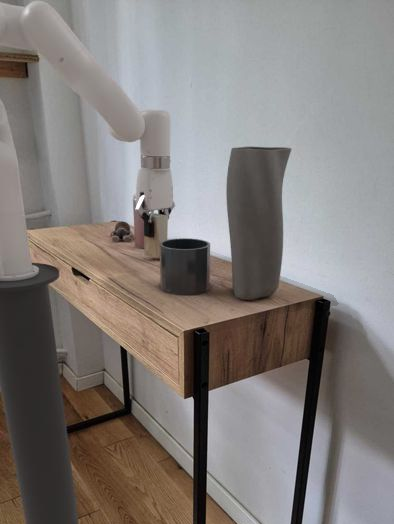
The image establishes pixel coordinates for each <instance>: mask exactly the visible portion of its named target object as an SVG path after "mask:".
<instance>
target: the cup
mask: <svg viewBox="0 0 394 524" xmlns="http://www.w3.org/2000/svg"><path fill="white" fill-rule="evenodd" d="M159 250H160V258H159V282H160V283H159V284H160V289H161V290H162V291H163V292H165V293H167V294H171V295H178V296H193V295H199V294H203V293H205V292H208V291H209V289H210V283H211V282H210V278H211V277H210V275H211V274H210V273H211V272H210V271H211V243H210V242H209V241H207V240H204V239H199V238H189V237H188V238H186V237H185V238H184V237H183V238H171V239H167V240H165V241H162V242H160V244H159Z"/></svg>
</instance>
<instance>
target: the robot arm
mask: <svg viewBox="0 0 394 524" xmlns="http://www.w3.org/2000/svg"><path fill="white" fill-rule="evenodd" d="M0 47H6V48H13V49H18V50H23V51H31V52H38V53H39V54H40V55H41V56H42V57H43V58H44V59H45V61H46V62H47V63H48V64H49V65H50V67H51V68H52V69H53V70H54V71H55V72H56V74H57V75H58V76H59V77H60V79H61V80H62V81H63V82H64V83H65V84H66V86H68V88H70V89H71V90H72V91H73V92H74V93H75V94H77V95H78V96H80V97H81V98H83V99H84V100H85V101H86V102H87V103H89V104H90V105H91V106H92V107H93V108H94V109H95V110H96V111H97V112H98V114H99V115H100V116H101V117H102V118H103V119H104V121H105V122H106V126H107V131H108V133H109V134H110V135H111V136H112V137H113V138H114V139H115V140H116V141H117V140H118V141H120V142H123V143H125V142H126V143H134V142H136V141H140V143H139V144H140V148H139V149H140V151H139V152H140V168H139V169H138V172H137V177H136V187H135V195H136V208H135V212H136V213H137V214H139V215H140V217H141V218H142V221H144V236H146V237H151V238H153V237H154V222H152V220H153V214H154V213H155V211H157V214H162V215H166V216H168V220H169V219H170V215H171V213H172V211H173V209H175V207H176V204H175V201H174V186H173V184H174V183H173V175H172V169H171V163H172V162H171V115H170V113H169V111H166V110H164V109H144V110H140V109H139V108H138V107H137V106H136V104H135V103H134V102H133V101H132V99H131V98H130V97H129V96H128V94H127V93H126V92H125V90H124V89H123V88H122V87H121V86H120V85H119V84H118V82H117V81H116V80H115V79H114V78H113V77H112V76H111V75H110V74H109V73H108V72H107V71H106V69H105V68H104V67H103V66H102V64H100V62H98V61H97V60H96V58H95V57H94V56H93V55H92V54H91V52H90V51H89V50H88V48H87V47H86V46H85V45H84V44H83V43H82V41H81V40H80V39H79V38H78V36H77V35H76V34H75V33H74V31H73V30H72V28H71V27H70V26H69V25H68V24H67V22H66V21H65V20H64V18H63V17H62V16H61V15H60V13H58V11H56V9H55V8H54V7H53V6H52V5H51V4H49V3H47V2H46V1H43V0H34V1H31V2H29V4H27V5H26V6H21V5H14V4H9V3H5V2H1V1H0ZM19 167H20V166H19V160H18V155H17V151H16V147H15V143H14V139H13V134H12V130H11V127H10V121H9V118H8V114H7V110H6V106H5V105H4V103H3V100H2V99H1V98H0V281H18V280H24V279H28V278H32V277H34V276H36V275H38V273H39V268H38V267H37V266H34V265H32V263H33V262H32V256H31V250H30V249H31V248H30V242H29V236H28V235H29V233H28V228H27V221H26V213H25V207H24V200H23V193H22V186H21V177H20V168H19ZM147 212H149V216H148V214H147Z"/></svg>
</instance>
